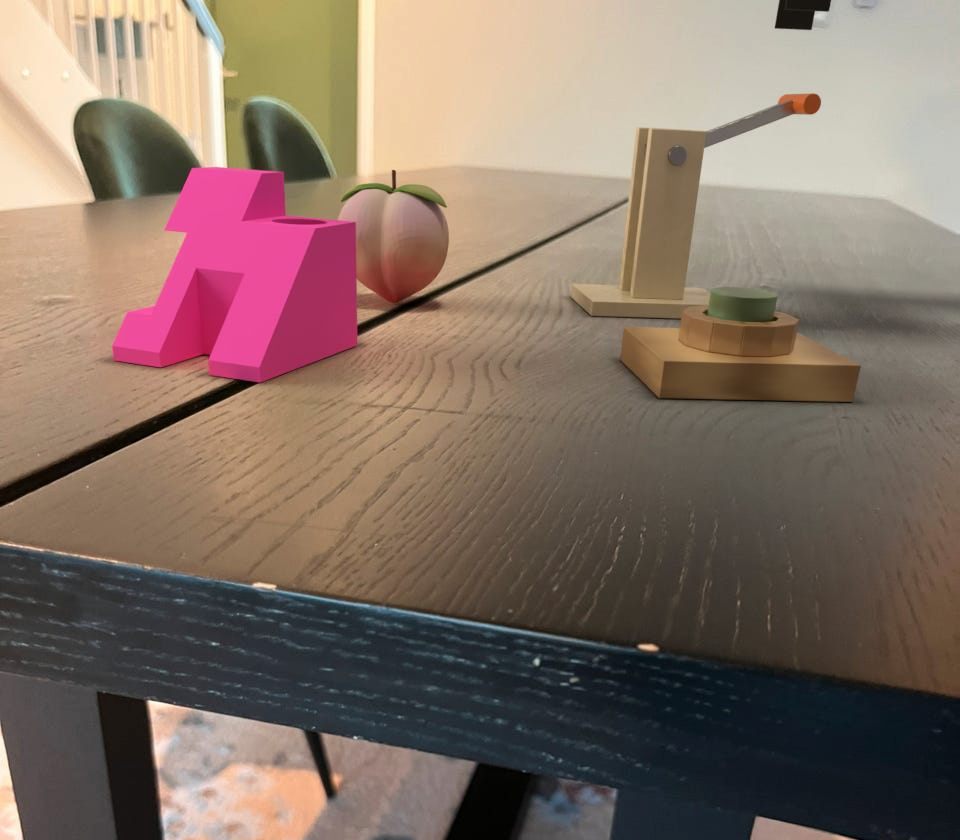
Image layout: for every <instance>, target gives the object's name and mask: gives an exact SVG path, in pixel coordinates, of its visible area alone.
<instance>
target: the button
mask: <svg viewBox="0 0 960 840" xmlns="http://www.w3.org/2000/svg"><path fill="white" fill-rule="evenodd" d="M777 302H778V294H777V293H776V292H772V291H769V290H764V289H758V288H752V287H751V288H750V287H739V286H738V287H737V286H720V287H714V288H712V289H711V290H710V300H709V307H708V313H707V316H711V317H715V318H719V319H724V320H732V321H740V322H772V321H773V319H774V313H775V311H776V307H777Z"/></svg>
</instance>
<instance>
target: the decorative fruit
mask: <svg viewBox="0 0 960 840" xmlns="http://www.w3.org/2000/svg"><path fill="white" fill-rule="evenodd" d="M345 201H346V202H345ZM343 202H345V204H344V205H343V207H342V208H341V210H340V212H339V214H338V218H337V220H340V221H351V222H356V276H357V281H358V282H359V283H361V284H362V285H363V286H364V287H366V288H367V289H369V290H370V291H371V292H373V293H374V294H377V296H379V297H381V298H382V299H384V300H385V301H387V302H389V303H392V304H397V303H400V302H402V301H403V300H405V299H407V298H410V297H411V296H413V295H415V294H417V293H419V292H421V291H423V290H424V289H425V288H427V287H428V286H429V285H430V284H431V283H432V282H434V281H435V280H436V278H437V277H438V275H439V274H440V273H441V271H442V269H443V267H444V265H445V263H446V260H447V257H448V252H449V244H450V243H449V242H450V231H449V224H448V221H447V219H446V216H445V214H444V211H443V210H442V208H441V207H443V208H445V209H447V207H448V205H447V204H446V202H445V199H444V198H443V197H442V195H440V194H439V192H437V190H435V189H433V188H432V187H430V186H427V185H424V184H417V183H416V184H412V183H410V184H409V183H408V184H404V185H401V186H398V187H397V171H396V170H395V169H391V186H389V185H388V184H385V183H380V182H371V183H370V182H369V183H368V182H367V183H362V184H358V185H354V186H352V187H351V188H349V189H348V190H347V191H346V192H345V193H344V194H343V196H342V197H341V199H340V203H343ZM440 206H441V207H440Z"/></svg>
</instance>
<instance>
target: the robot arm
mask: <svg viewBox="0 0 960 840" xmlns="http://www.w3.org/2000/svg"><path fill="white" fill-rule="evenodd" d="M831 4H832V0H778V5H777V10H776V17H775V23H774V29H775V30H777V29H778V30H799V31H812V29H813V26H814V25H813V24H814V20H815V19H814V18H815V14H816V12H822V13H823V12H826V13H828V12H829V11H830V8H831Z"/></svg>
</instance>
